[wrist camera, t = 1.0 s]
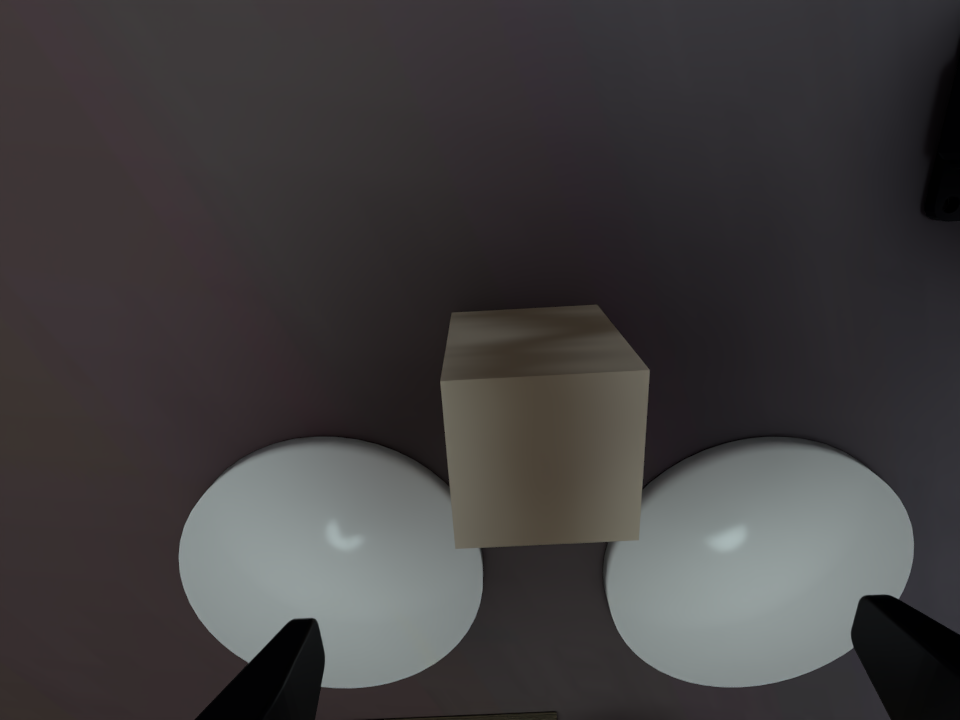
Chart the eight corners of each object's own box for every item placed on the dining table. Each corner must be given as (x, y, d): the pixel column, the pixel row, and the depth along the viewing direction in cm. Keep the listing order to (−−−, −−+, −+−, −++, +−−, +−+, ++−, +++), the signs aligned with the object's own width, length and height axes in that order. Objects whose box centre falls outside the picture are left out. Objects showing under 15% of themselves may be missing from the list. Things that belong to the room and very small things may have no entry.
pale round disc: (474, 428, 20) (473, 441, 19) (489, 661, 24) (490, 682, 23) (156, 444, 20) (141, 458, 19) (228, 673, 24) (218, 694, 23)
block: (596, 304, 18) (649, 370, 13) (593, 432, 20) (638, 540, 14) (451, 312, 18) (439, 380, 13) (461, 439, 20) (455, 548, 14)
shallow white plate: (927, 428, 20) (949, 441, 19) (862, 660, 24) (877, 681, 23) (607, 444, 20) (613, 458, 19) (599, 672, 24) (603, 693, 23)
